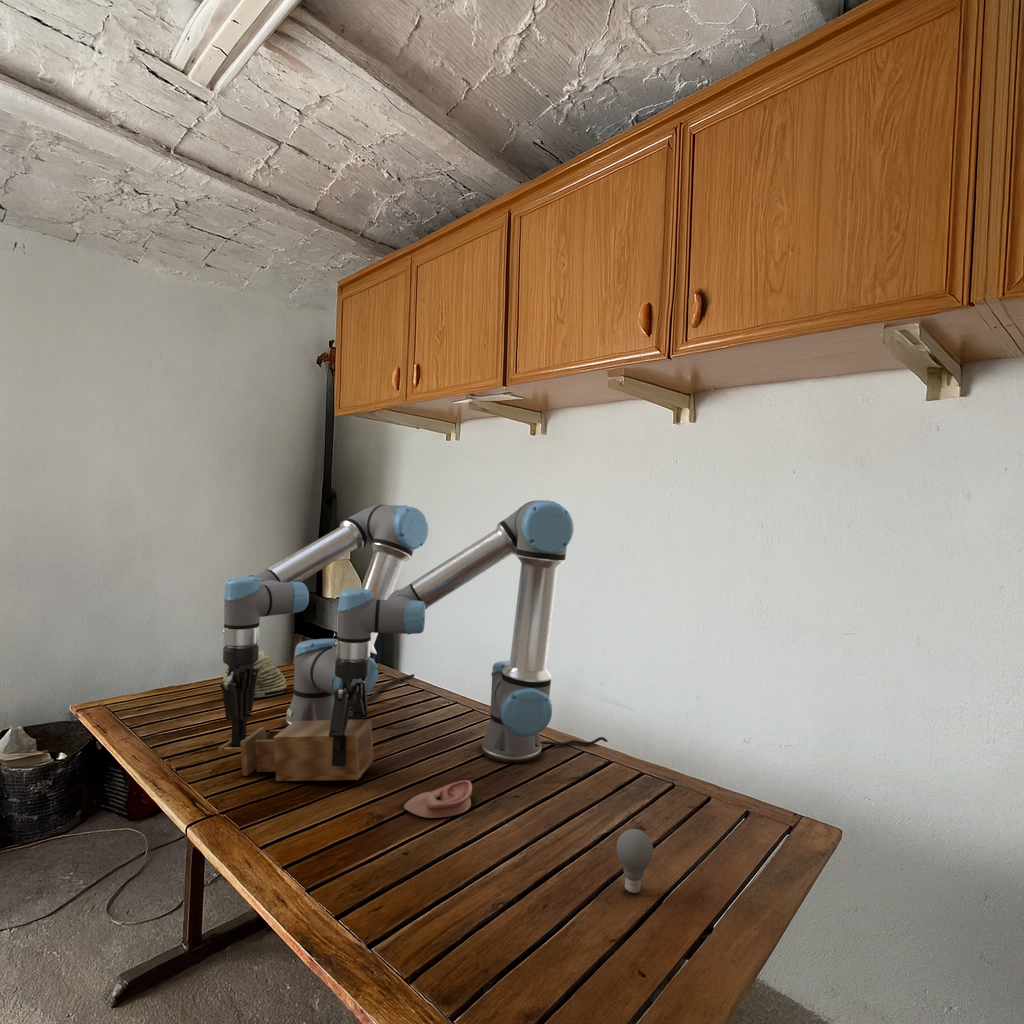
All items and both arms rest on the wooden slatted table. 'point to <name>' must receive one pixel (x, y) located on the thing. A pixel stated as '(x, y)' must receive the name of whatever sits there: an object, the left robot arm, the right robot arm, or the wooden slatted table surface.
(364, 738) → the cabinet
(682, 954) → the wooden slatted table surface
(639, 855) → the light bulb
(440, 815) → the anatomical model
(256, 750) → the drawer
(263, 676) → the fossil
